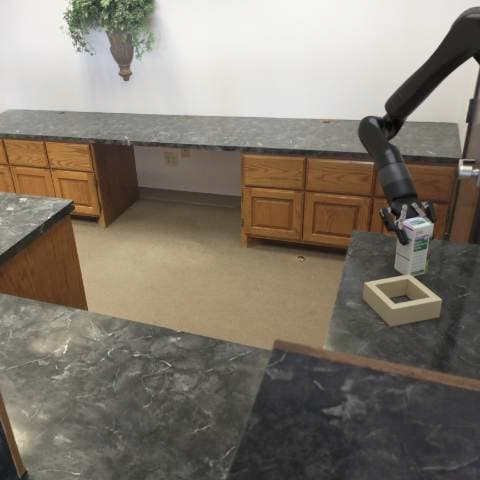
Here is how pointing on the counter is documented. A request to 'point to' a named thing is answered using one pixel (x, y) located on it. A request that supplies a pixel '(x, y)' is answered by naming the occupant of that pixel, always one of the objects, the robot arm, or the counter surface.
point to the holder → (406, 312)
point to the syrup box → (414, 247)
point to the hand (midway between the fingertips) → (418, 242)
